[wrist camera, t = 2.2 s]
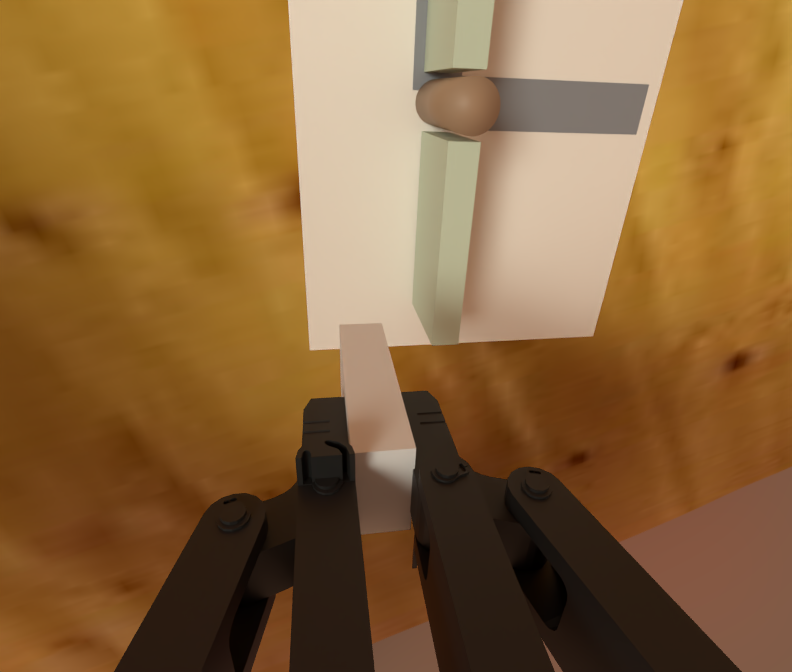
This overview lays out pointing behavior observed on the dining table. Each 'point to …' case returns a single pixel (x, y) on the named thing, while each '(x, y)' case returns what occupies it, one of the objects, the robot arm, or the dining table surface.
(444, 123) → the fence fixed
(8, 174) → the dining table surface
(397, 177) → the card
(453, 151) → the fence panel
